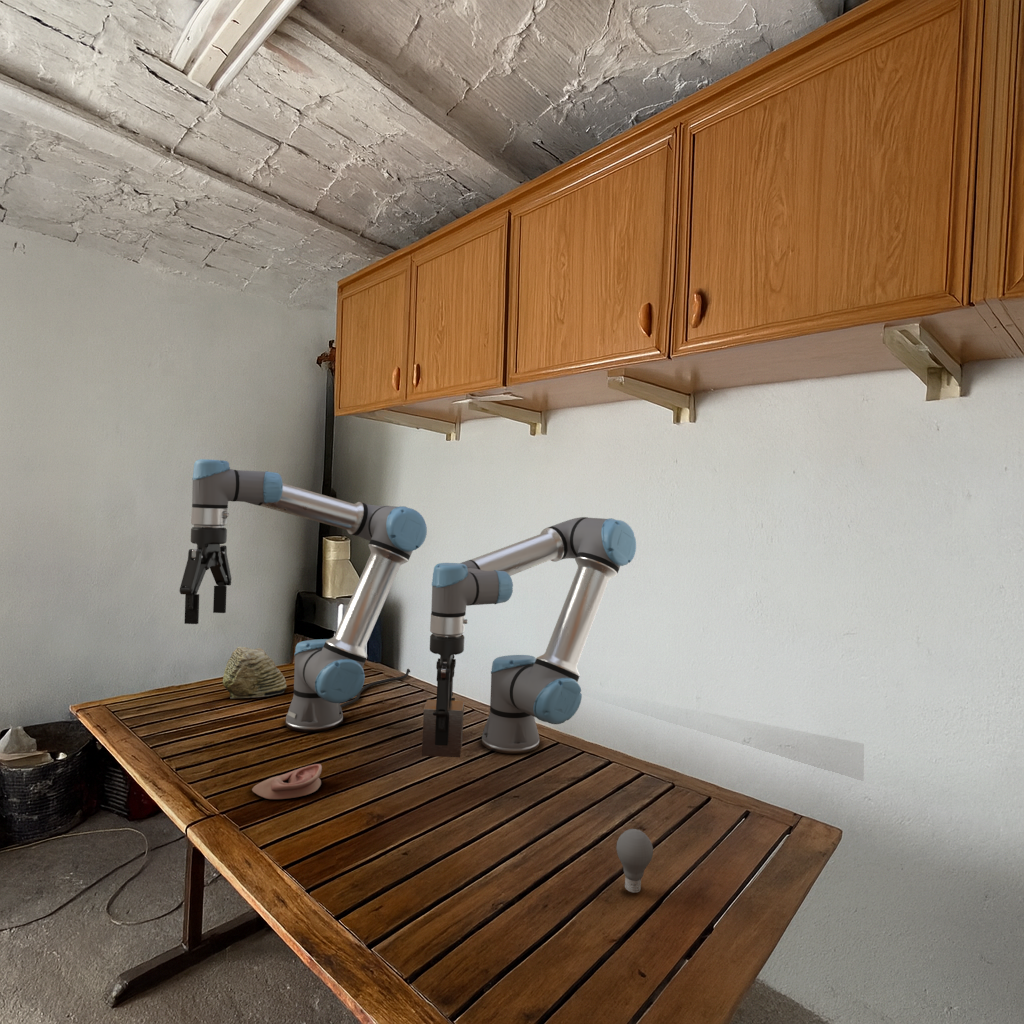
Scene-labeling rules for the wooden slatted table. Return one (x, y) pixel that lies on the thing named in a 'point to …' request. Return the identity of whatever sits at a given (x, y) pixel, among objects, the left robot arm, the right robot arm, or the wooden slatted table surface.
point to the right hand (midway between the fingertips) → (442, 738)
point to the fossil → (252, 674)
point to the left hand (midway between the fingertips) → (206, 618)
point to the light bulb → (634, 857)
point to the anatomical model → (291, 783)
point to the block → (453, 732)
